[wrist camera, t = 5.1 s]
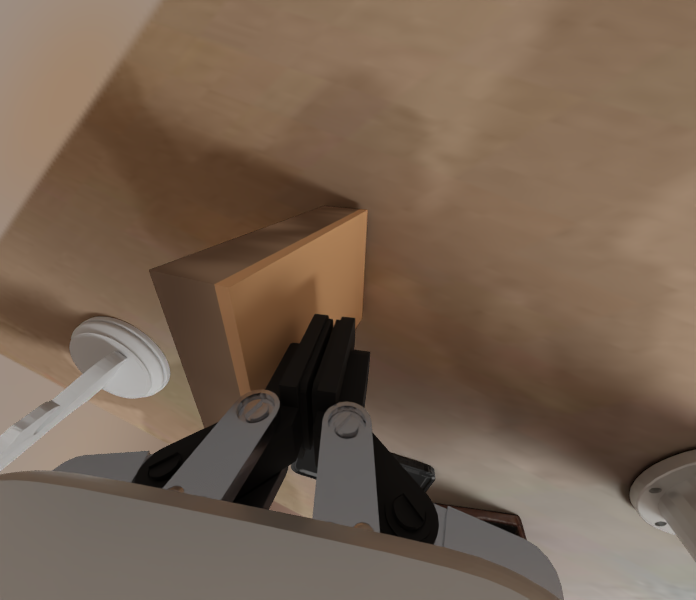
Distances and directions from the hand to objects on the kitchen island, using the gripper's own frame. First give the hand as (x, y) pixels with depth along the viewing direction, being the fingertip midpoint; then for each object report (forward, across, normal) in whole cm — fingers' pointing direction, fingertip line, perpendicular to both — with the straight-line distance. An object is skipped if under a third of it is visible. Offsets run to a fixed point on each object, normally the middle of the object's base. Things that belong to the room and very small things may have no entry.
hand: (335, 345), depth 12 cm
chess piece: (+10, +24, +12) cm, 29 cm away
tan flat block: (+9, +1, 0) cm, 9 cm away
